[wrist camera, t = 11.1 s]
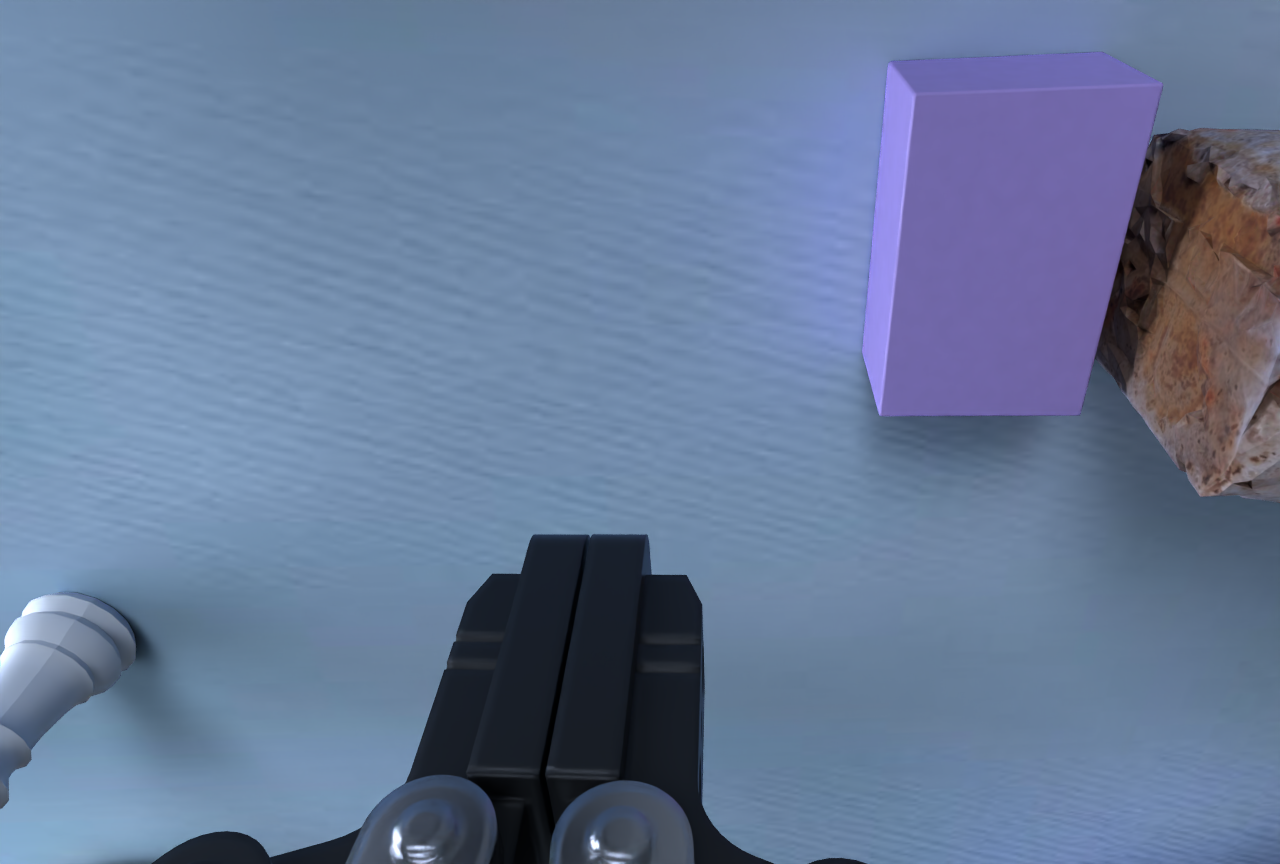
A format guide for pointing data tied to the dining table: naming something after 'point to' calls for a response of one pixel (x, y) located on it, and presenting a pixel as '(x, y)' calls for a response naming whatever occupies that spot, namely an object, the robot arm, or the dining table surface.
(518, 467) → the dining table surface
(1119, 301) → the food item
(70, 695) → the rook chess piece
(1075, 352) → the lavender block
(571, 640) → the robot arm
